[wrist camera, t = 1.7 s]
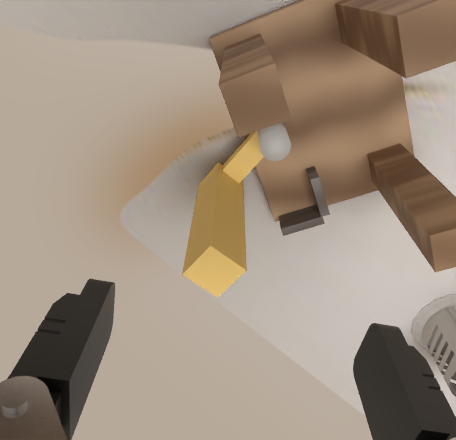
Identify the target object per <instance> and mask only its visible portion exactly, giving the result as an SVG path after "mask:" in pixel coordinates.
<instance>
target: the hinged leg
mask: <svg viewBox="0 0 456 440" xmlns="http://www.w3.org/2000/svg"><path fill="white" fill-rule="evenodd" d="M290 149H291V142H290V139H289V136H288V133H287V130H286V127H285V125H284V122H281V123H279V124H276V125H273V126H270V127H267V128H264V129H262V130H259V131H256V132H253V133H251V134H250V135H249V136H248V137H247V138H246V139H245V141H244V142H243V143H242V144H241V145H240V146H239V147H238V149H237V150H236V151H235V152H234V153H233V154H232V155H231V156H230V158H229V159H228V160H227V161H226V162H225V163H224V164H223V165H222V164H221V163H220V162H218V163H217V164H216V165H215V166H214V167H213V169H212V170H211V171H210V172H209V173H208V174H207V175H206V177H205V178H204V179H203V180H202V181H201V182H200V184H199V186H198V192H197V197H196V203H195V208H194V213H193V219H192V224H191V230H190V235H189V241H188V246H187V252H186V257H185V262H184V268H183V273H182V275H183V276H185V277H187V278H188V279H190V280H191V281H193V282H194V283H196V284H197V285H199V286H201V287H202V288H204V289H205V290H207V291H208V292H210V293H212V294H213V295H215V296H216V297H219V296H220V295H221V294H222V293H223V292H224V291H225V290H226V289H227V288H228V287H229V286H230V285H232V284H233V283H234V282H235V281H236V280H237V279H238V278H239V277H240V276H241V275H242V274H243V273H244V272H245V271H246V270H247V269H246V243H245V217H244V190H243V179H244V178H245V177H246V176H247V174H248V173H249V172H250V171H251V170H252V169H253V168H254V167H255V166H256V165H257V164H258V163H259V162H260V160H261V159H262V158H263V157H265V158H266V159H268V160H270V161H279V160H282V159H284V158H285V157H286V156H287V155H288V154H289V152H290Z"/></svg>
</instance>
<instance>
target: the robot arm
mask: <svg viewBox="0 0 456 440" xmlns="http://www.w3.org/2000/svg"><path fill="white" fill-rule="evenodd" d="M114 297H115V283H113V282H107V281H100V280H94V279H89V280H88V281H87V283H86V285H85V287H84V289H83V290H82V292H81V294H80V295H76V294H70V293H67V294H66V295H64V296H63V297H62V298H60V299H59V300H58V301H56V302H55V303H54V304H53V305H52V307H51V308H50V310H49V312H48V313H47V315H46V316H45V319H44V320H43V321H42V323H41V325H40V326H39V328H38V331H37V332H36V333H35V335H34V336H33V338H32V340H31V341H30V343H29V345H28V346H27V348H26V349H25V351H24V353H23V354H22V356H21V358H20V359H19V361H18V363H17V365H16V366H15V368H14V369H13V371H12V373H11V374H10V376H9V377H8V378H7V379H6V380H4V381H2V382H1V383H0V440H71V439H72V436H73V434H74V431H75V428H76V426H77V423H78V421H79V418H80V415H81V413H82V410H83V407H84V404H85V402H86V399H87V397H88V394H89V392H90V389H91V386H92V384H93V381H94V378H95V376H96V373H97V370H98V368H99V365H100V362H101V360H102V357H103V355H104V352H105V349H106V346H107V344H108V341H109V338H110V334H111V330H112V325H113V314H114ZM353 372H354V378H355V381H356V385H357V388H358V391H359V395H360V398H361V401H362V405H363V408H364V411H365V415H366V418H367V421H368V425H369V428H370V431H371V435H372V438H373V440H456V417H455V415H454V413H453V411H452V409H451V407H450V405H449V403H448V401H447V399H446V398H445V396H444V394H443V392H442V391H440V386H439V384H438V382H437V380H436V378H434V374H433V372H432V370H431V368H430V366H429V364H428V362H427V360H426V359H425V358H424V357H423V356H422V355H421V354H420V353H419V352H418V351H417V350H416V349H415V347H414V346H408V344H407V342H406V340H405V338H404V336H403V334H402V332H401V330H400V329H399V328H398V327H395V326H389V325H382V324H376V323H373V324H371V325H370V327H369V329H368V331H367V333H366V335H365V337H364V339H363V341H362V343H361V346H360V348H359V350H358V352H357V354H356V356H355V359H354V365H353Z"/></svg>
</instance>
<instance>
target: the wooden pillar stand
mask: <svg viewBox="0 0 456 440" xmlns="http://www.w3.org/2000/svg"><path fill="white" fill-rule="evenodd" d="M209 41H210V44H211V47H212V49H213V52H214V55H215V58H216V60H217V63H218V66H219V69H220V71H221V74H220V81H219V86H220V89H221V92H222V94H223V97H224V100H225V103H226V105H227V108H228V110H229V113H230V116H231V119H232V121H233V124H234V127H235V129H236V132H237V135H238V137H242V136H244V137H245V139H246V138H247V137H248V136H249V135H250V134H251V133H253V132H256V131H259V130H262V129H264V128H267V127H270V126H273V125H276V124H279V123H281V122H284V125H285V127H286V130H287V133H288V136H289V139H290V142H291V149H290V152H289V154H288V155H287V156H286V157H285V158H284V159H282V160H279V161H270V160H268V159H266V158H265V157H263V158H262V159H261V160H260V162H259V163H258V164H257V165H256V166H255V167H256V170H257V173H258V176H259V178H260V181H261V184H262V187H263V189H264V192H265V195H266V197H267V200H268V203H269V206H270V208H271V211H272V214H273V217H274V219H275V221H280V226H281V230H282V233H283V236H284V235H288V234H291V233H294V232H298V231H301V230H304V229H308V228H311V227H314V226H318V225H321V224H324V220H323V217H322V216H326V215H329V214H330V213H329V210H328V206H327V205H331V204H334V203H337V202H341V201H344V200H347V199H350V198H354V197H357V196H360V195H363V194H367V193H370V192H373V191H376V190H379V191H380V193H381V194H382V196H383V197H384V199H385V200H386V202H387V203H388V204H389V206H390V207H391V209H392V210H393V212H394V213H395V215H396V216H397V217H398V219H399V220H400V222H401V223H402V225H403V226H404V228H405V229H406V230H407V232H408V233H409V235H410V236H411V238H412V239H413V241H414V242H415V243H416V245H417V246H418V248H419V249H420V251H421V252H422V254H423V255H424V257H425V258H426V259H427V261H428V262H429V264H430V265H431V267H432V268H433V270H434V271H435V272H438V271H442V270H446V269H449V268H453V267H456V197H455V196H454V195H453V194H452V193H451V192H450V191H449V190H448V189H447V188H446V187H445V186H444V185H443V184H442V183H441V182H440V181H439V180H438V179H437V178H436V177H435V176H434V175H432V174H431V173H430V172H429V171H428V170H427V169H426V168H425V167H424V166H423V165H422V164H421V163H420V162H419V161H418V160H417V159H416V158H415V157H414V152H413V146H412V139H411V133H410V127H409V120H408V114H407V107H406V101H405V94H404V88H403V82H402V76H403V77H405V78H409V77H411V76H414V75H417V74H420V73H423V72H425V71H428V70H431V69H434V68H437V67H440V66H442V65H445V64H448V63H451V62H454V61H456V0H299V1H297V2H294V3H292V4H289V5H287V6H285V7H282V8H280V9H277V10H275V11H272V12H270V13H267V14H265V15H263V16H260V17H258V18H255V19H253V20H250V21H248V22H245V23H243V24H241V25H238V26H236V27H233V28H231V29H228V30H226V31H223V32H221V33H219V34H216V35H214V36H211V37H210V39H209Z"/></svg>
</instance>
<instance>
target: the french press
mask: <svg viewBox="0 0 456 440" xmlns="http://www.w3.org/2000/svg"><path fill="white" fill-rule="evenodd" d="M411 332H412V335H413V337H414V340H415V341H416V342H417V343H418V344H419V345H421V346H422V347H423V348H425V349H429V350H430V353H431V355H432V357H434V360H435V362H436V364H437V365H438V366H439V367H438V368H439V370H440V372H441V373H442V374H443V375H444V379H445V381H446V383H447V385H448V387H449V388H450V390H451V392H452V394H453V395H455V396H456V384H454V383H452V382H450V379H453V380H456V294H451V295H448V296H445V297H442V298H439V299H436V300H434V301H433V302H431V303H430V304H428V305H427V306H425V307H424V308H422V309H421V311H420V312H419V313H418V315H417V316H416V317H415V319H414V320H413V325H412V330H411ZM432 352H436V354H435V355H434V354H433V353H432ZM440 354H441V355H443V358H441V357H439V355H440ZM437 360H440V361H441V362H440V363H439V362H437ZM445 363H447V364H448V366H445ZM442 369H446V370H447V371H446V372H444V371H442ZM453 375H454V376H453Z"/></svg>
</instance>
